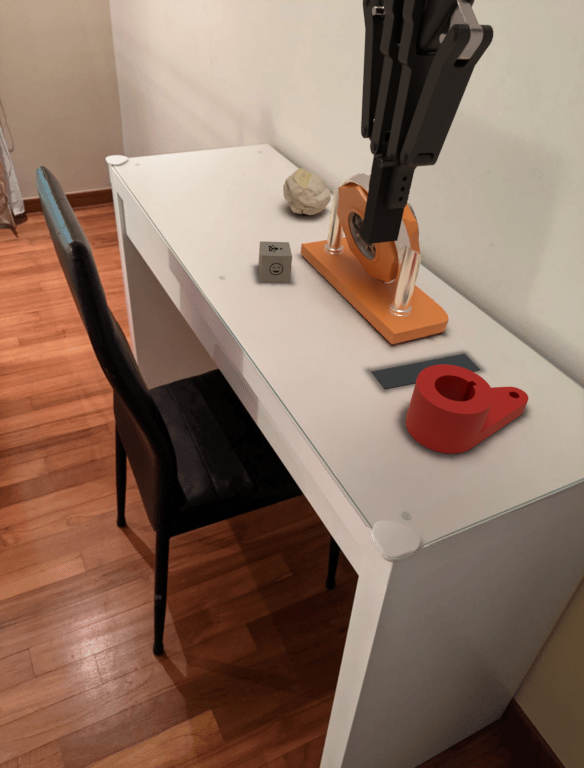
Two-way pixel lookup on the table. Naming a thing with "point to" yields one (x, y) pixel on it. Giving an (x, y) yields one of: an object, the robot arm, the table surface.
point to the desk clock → (376, 268)
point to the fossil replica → (306, 192)
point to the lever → (459, 408)
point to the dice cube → (275, 262)
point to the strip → (418, 370)
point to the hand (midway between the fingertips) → (379, 238)
